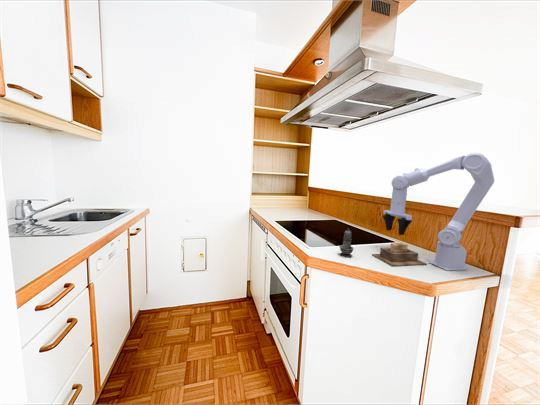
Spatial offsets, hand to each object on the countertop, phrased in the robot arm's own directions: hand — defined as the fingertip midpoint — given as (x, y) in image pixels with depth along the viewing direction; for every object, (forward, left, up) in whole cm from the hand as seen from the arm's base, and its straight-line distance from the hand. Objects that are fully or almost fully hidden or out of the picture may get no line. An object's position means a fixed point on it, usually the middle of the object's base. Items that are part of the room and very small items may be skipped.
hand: (394, 232), depth 102 cm
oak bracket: (+5, +9, -8) cm, 13 cm away
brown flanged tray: (+5, +9, -9) cm, 14 cm away
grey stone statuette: (+25, +2, -10) cm, 27 cm away
